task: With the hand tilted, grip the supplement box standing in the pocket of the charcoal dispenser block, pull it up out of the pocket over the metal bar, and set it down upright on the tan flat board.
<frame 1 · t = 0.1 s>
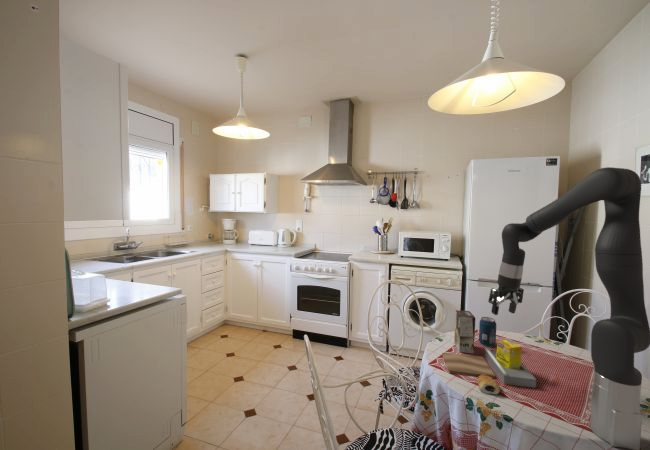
hand: (503, 313, 113), 22 cm above the table, tool pointing down, fingers open, 8 cm apart
tan flat board: (466, 365, 116), on the table
dispenser: (507, 370, 113), on the table
pastry: (487, 388, 101), on the table
supplement box: (507, 371, 113), resting in dispenser
soda can: (486, 344, 135), on the table
coffee box: (463, 348, 131), on the table
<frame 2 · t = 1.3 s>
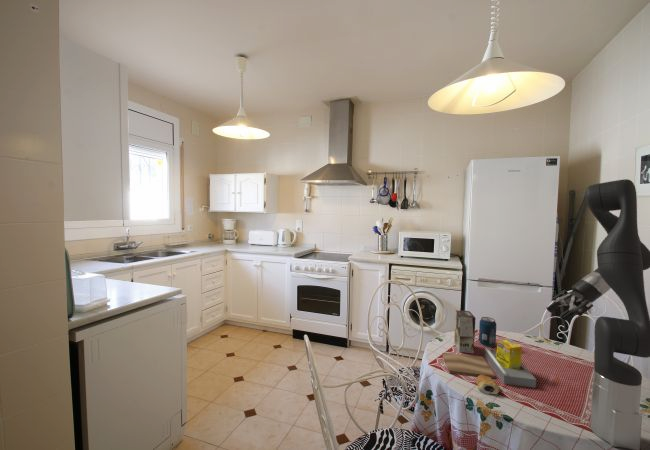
hand: (554, 314, 108), 24 cm above the table, tool tilted 45°, fingers open, 8 cm apart
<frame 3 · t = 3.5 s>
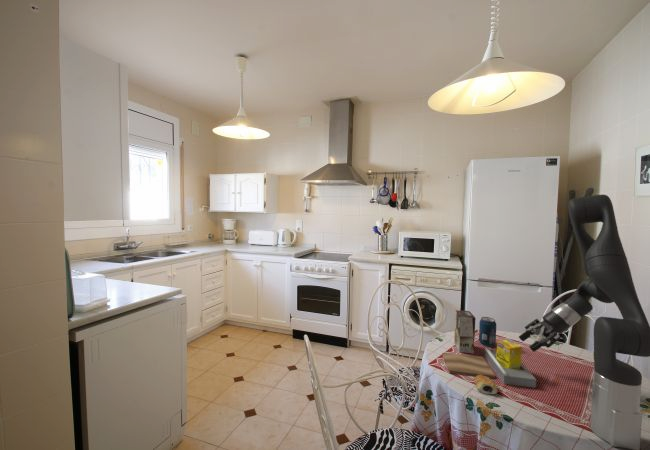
hand: (525, 344, 111), 11 cm above the table, tool tilted 45°, fingers open, 8 cm apart
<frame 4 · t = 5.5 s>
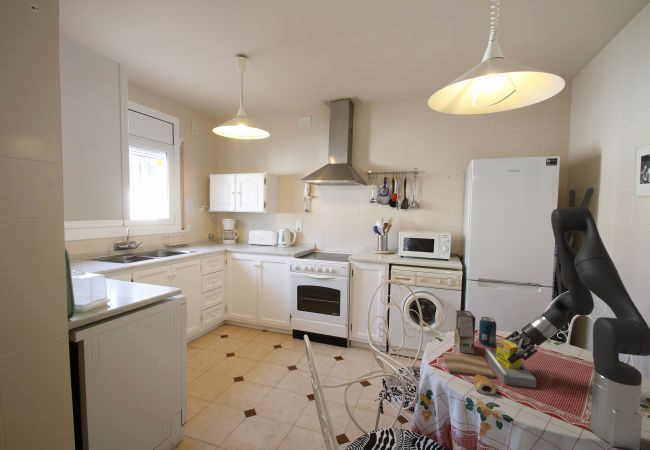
hand: (504, 356, 113), 6 cm above the table, tool tilted 45°, fingers closed on supplement box, 8 cm apart
supplement box: (507, 371, 113), resting in dispenser, touching gripper
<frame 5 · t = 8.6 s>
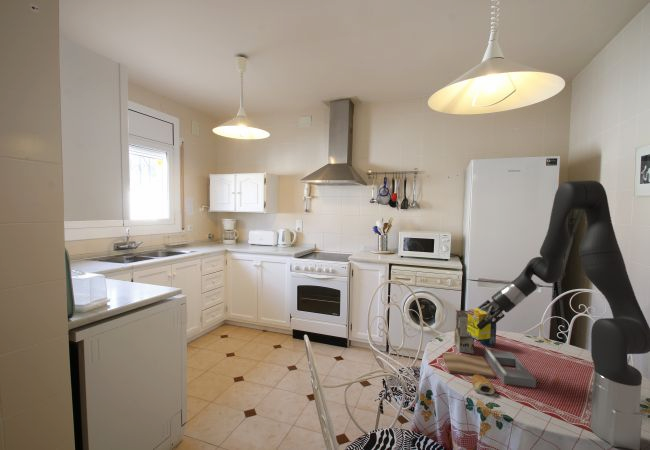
hand: (475, 323, 115), 17 cm above the table, tool tilted 45°, fingers closed on supplement box, 8 cm apart
supplement box: (478, 338, 115), point 12 cm above the table, touching gripper
when the fingers open (8 cm above the table, at t = 11.5 s): supplement box drops 1 cm, resting on tan flat board.
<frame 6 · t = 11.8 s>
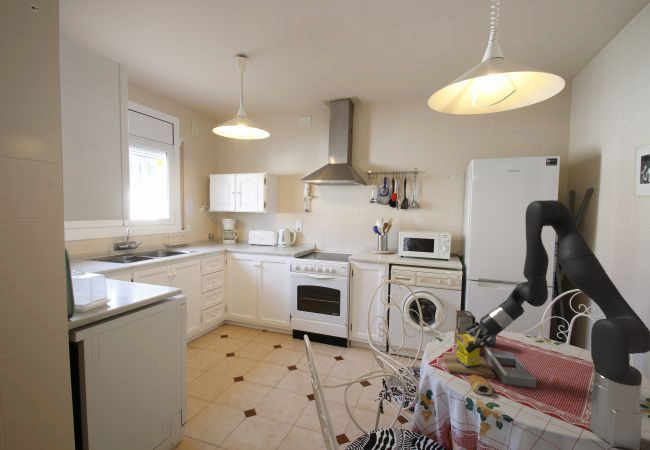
hand: (464, 346, 115), 8 cm above the table, tool tilted 45°, fingers open, 8 cm apart
supplement box: (467, 364, 115), point 1 cm above the table, touching gripper, tan flat board
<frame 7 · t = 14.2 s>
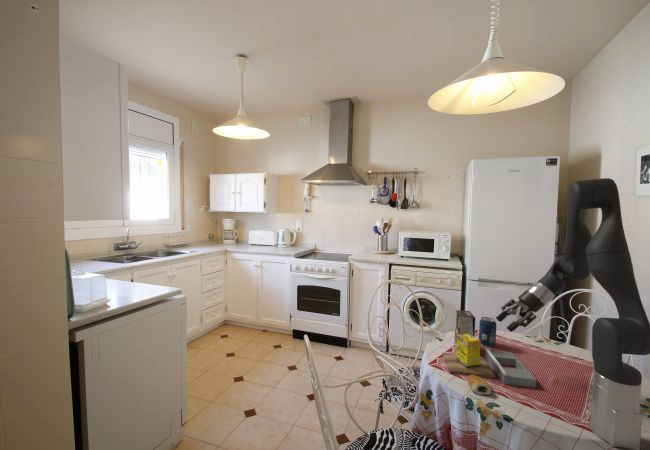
hand: (503, 324, 112), 18 cm above the table, tool tilted 45°, fingers open, 8 cm apart
supplement box: (467, 364, 115), point 1 cm above the table, touching tan flat board
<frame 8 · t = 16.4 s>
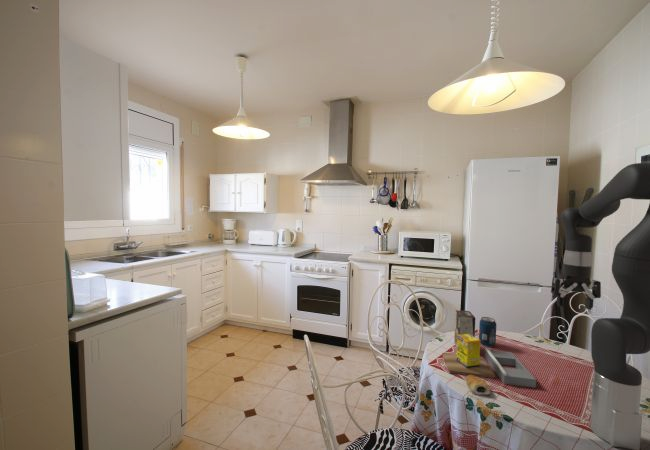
hand: (574, 307, 103), 28 cm above the table, tool pointing down, fingers open, 8 cm apart
at the end: supplement box inside the target area on the tan flat board (0.3 cm from its centre), point 0.8 cm above the tan flat board's base; supplement box tilted 0°; the gripper is holding nothing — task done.
